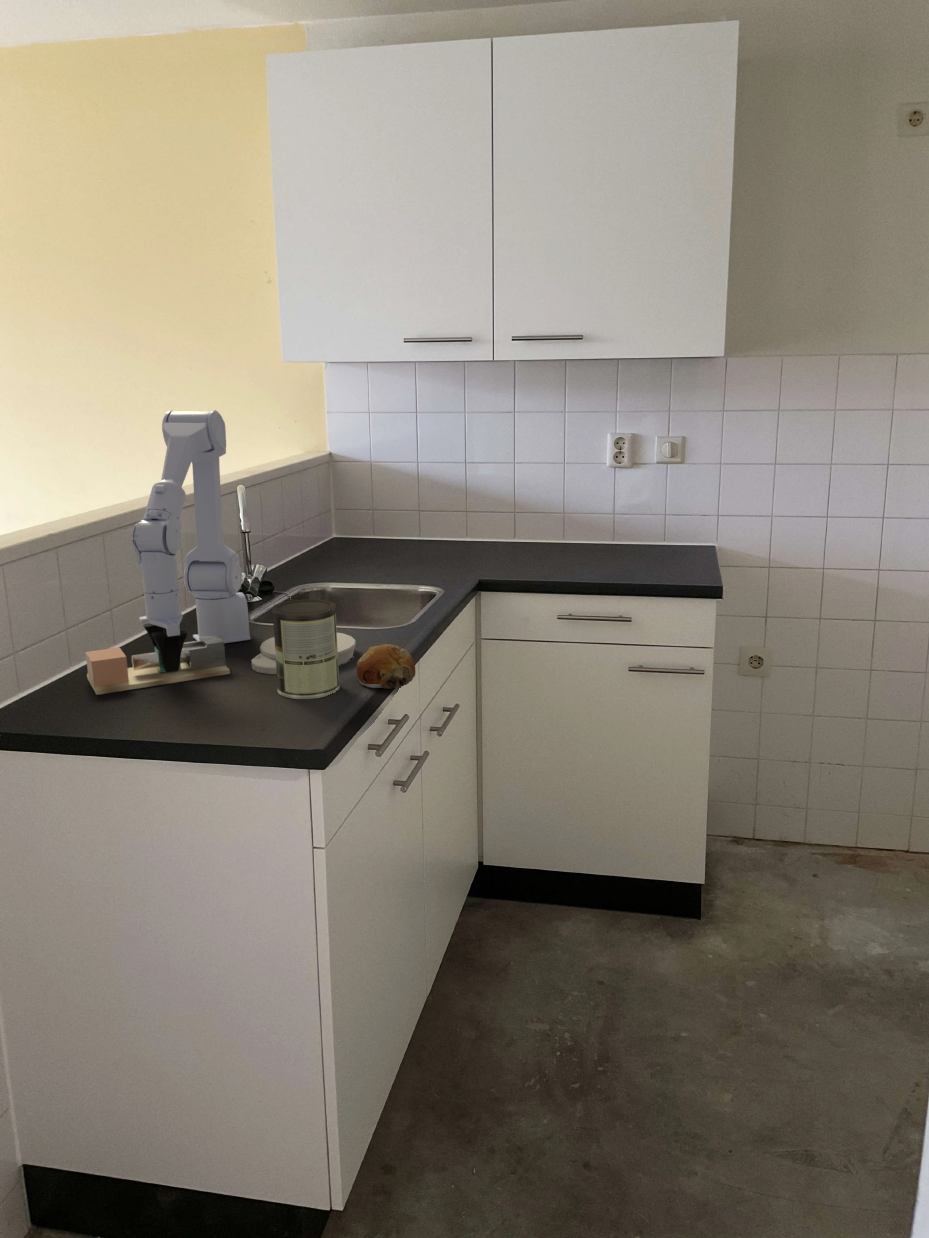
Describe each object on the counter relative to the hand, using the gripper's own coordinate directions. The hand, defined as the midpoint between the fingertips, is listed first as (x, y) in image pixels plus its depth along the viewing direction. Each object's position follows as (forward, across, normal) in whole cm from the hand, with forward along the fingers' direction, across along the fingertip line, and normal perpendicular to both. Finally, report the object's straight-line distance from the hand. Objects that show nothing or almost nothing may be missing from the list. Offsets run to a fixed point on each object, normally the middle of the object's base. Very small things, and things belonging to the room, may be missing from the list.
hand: (168, 666), depth 171 cm
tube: (0, 0, +2) cm, 2 cm away
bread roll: (+2, +22, +31) cm, 38 cm away
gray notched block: (+1, 0, +6) cm, 6 cm away
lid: (+2, +3, +23) cm, 23 cm away
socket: (+1, 0, -10) cm, 10 cm away
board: (+1, 0, -2) cm, 2 cm away
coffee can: (+2, +20, +18) cm, 27 cm away
